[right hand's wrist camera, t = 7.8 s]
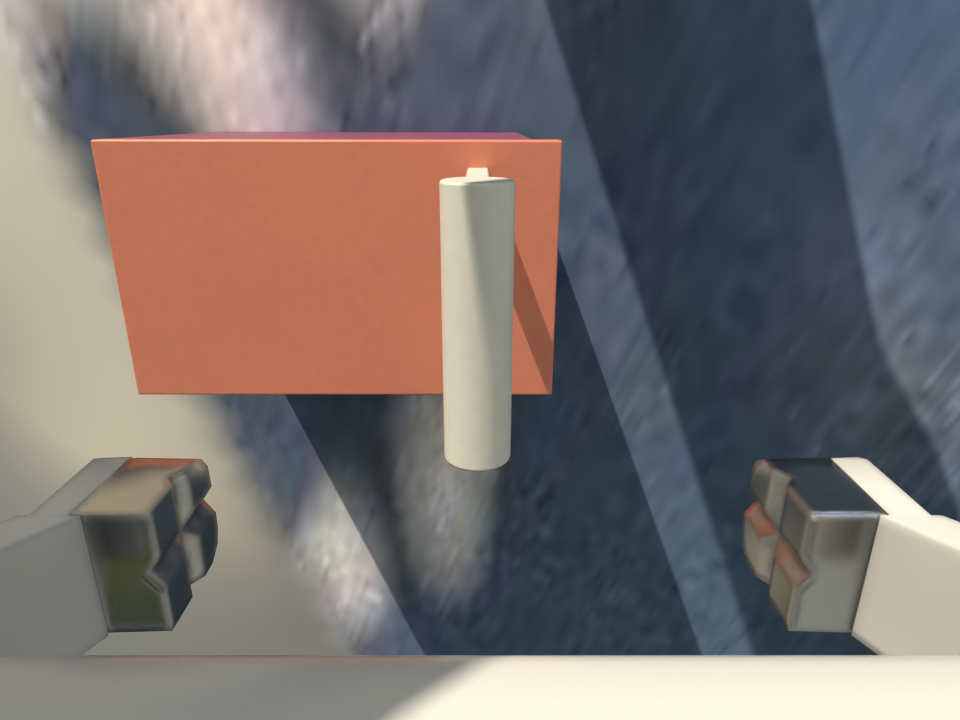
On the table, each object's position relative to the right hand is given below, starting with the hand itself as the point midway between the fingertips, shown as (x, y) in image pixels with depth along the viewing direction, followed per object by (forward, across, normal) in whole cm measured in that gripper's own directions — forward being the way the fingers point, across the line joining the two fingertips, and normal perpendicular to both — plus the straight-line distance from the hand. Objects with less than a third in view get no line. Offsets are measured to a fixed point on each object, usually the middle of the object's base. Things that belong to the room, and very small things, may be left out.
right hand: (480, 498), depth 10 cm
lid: (+16, +5, 0) cm, 17 cm away
